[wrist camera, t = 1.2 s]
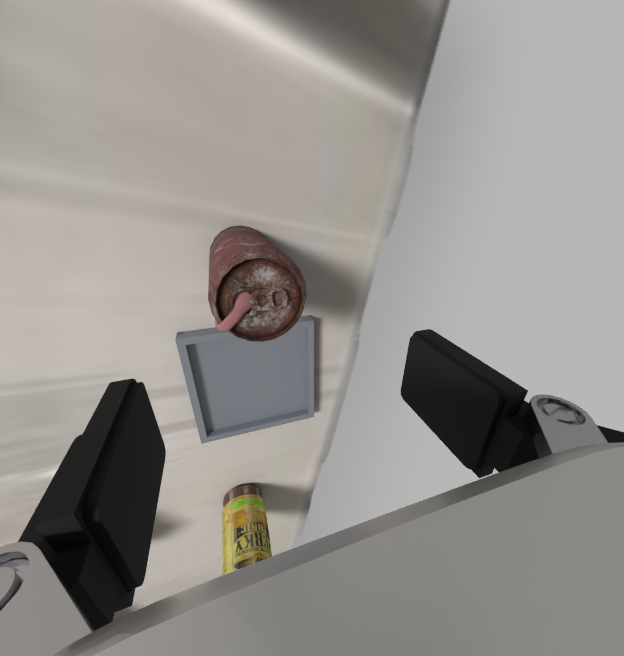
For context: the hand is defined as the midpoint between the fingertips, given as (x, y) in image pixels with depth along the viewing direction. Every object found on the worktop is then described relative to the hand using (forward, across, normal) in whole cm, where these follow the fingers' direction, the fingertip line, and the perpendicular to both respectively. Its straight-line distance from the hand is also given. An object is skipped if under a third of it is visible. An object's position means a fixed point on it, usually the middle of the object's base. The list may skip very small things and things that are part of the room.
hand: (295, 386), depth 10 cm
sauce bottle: (+22, +4, +37) cm, 43 cm away
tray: (+22, 0, +15) cm, 27 cm away
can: (+22, 0, 0) cm, 22 cm away
